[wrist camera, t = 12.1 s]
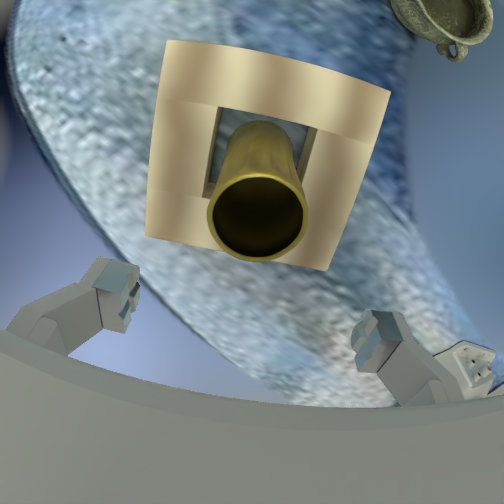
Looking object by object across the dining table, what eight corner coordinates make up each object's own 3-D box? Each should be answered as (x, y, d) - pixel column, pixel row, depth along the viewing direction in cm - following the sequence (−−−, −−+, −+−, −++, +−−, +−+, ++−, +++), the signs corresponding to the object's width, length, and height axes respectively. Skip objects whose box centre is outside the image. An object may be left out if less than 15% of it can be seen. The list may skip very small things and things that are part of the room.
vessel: (366, -45, 16) (389, -67, 10) (439, -38, 14) (472, -51, 9) (401, 63, 22) (433, 63, 16) (469, 61, 20) (506, 66, 15)
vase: (305, 143, 27) (341, 206, 15) (268, 193, 30) (272, 286, 18) (249, 108, 25) (237, 137, 13) (215, 161, 28) (177, 236, 16)
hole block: (374, 88, 23) (390, 91, 20) (320, 249, 33) (326, 271, 30) (180, 44, 22) (167, 39, 18) (156, 217, 31) (144, 236, 28)
